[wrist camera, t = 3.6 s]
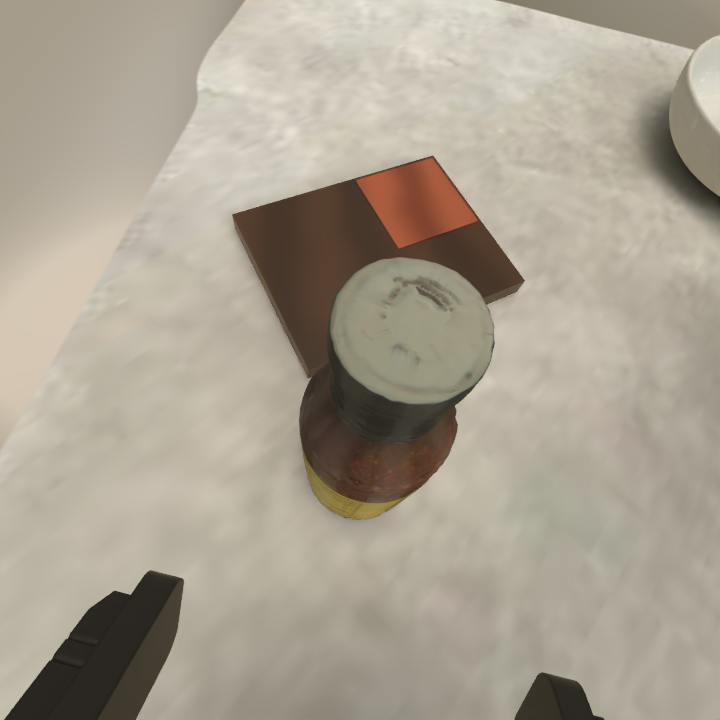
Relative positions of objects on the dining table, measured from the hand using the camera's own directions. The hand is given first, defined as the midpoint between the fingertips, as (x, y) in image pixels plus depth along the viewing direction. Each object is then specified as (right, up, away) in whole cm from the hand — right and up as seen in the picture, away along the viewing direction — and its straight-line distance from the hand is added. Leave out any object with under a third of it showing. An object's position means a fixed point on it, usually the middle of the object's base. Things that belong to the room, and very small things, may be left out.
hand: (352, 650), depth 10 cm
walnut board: (+1, +14, +26) cm, 30 cm away
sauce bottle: (0, -1, +19) cm, 19 cm away
